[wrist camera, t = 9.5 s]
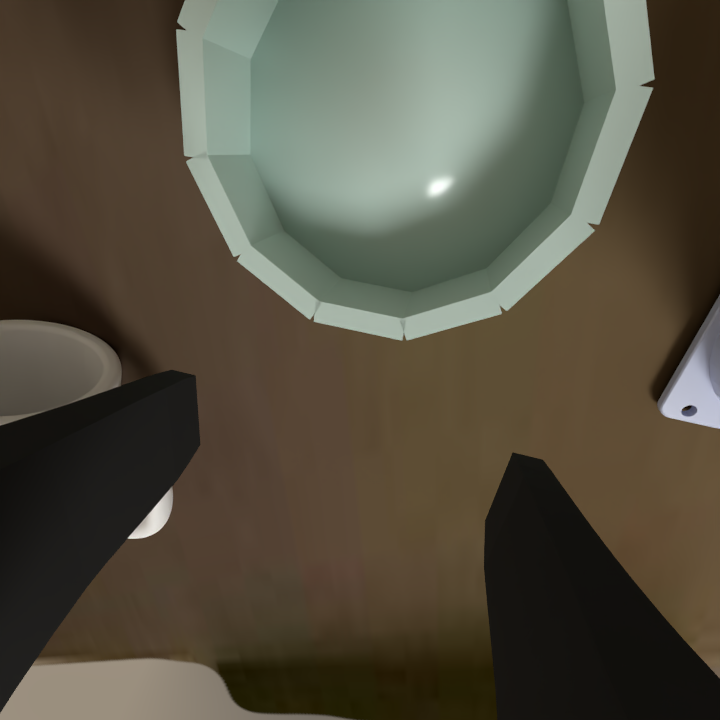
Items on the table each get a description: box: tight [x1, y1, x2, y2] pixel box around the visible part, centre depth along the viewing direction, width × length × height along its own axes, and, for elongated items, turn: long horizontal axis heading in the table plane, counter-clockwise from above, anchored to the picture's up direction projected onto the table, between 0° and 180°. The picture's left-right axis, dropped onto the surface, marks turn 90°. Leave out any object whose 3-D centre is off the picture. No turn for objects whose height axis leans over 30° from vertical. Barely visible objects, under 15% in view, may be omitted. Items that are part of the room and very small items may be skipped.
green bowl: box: [176, 0, 655, 340], centre depth 13 cm, size 13×13×4 cm
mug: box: [0, 320, 173, 539], centre depth 21 cm, size 12×10×8 cm
